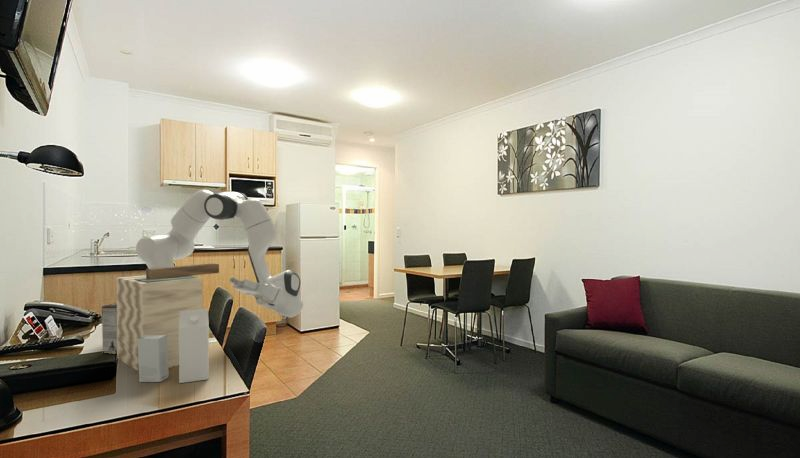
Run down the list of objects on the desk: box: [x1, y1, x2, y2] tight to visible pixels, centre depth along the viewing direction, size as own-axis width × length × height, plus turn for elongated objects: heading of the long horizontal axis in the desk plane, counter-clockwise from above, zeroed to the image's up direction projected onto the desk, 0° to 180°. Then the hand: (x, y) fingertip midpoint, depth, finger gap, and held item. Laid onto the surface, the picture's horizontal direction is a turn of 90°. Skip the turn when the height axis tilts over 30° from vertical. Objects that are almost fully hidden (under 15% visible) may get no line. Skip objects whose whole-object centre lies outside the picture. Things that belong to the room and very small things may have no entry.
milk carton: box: [178, 308, 210, 384], centre depth 116 cm, size 7×7×19 cm
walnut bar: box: [145, 263, 220, 279], centre depth 134 cm, size 4×21×3 cm, turn 141°
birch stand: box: [115, 274, 204, 372], centre depth 132 cm, size 22×17×26 cm
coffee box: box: [101, 302, 117, 352], centre depth 142 cm, size 9×6×16 cm
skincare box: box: [138, 335, 170, 383], centre depth 115 cm, size 6×4×12 cm
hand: (237, 280), depth 149 cm, fingers open, 8 cm apart
